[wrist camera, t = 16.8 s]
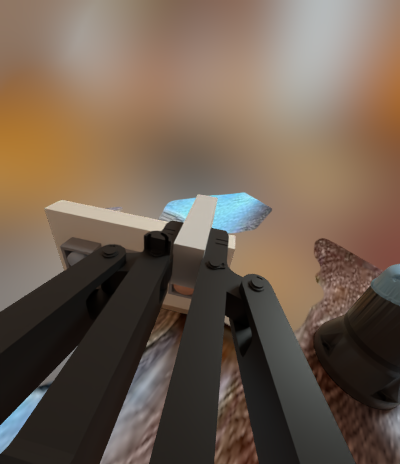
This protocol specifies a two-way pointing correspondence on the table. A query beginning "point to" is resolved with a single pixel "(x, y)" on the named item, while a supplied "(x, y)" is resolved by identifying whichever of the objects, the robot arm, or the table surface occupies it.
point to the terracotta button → (183, 290)
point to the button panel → (109, 237)
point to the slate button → (75, 257)
